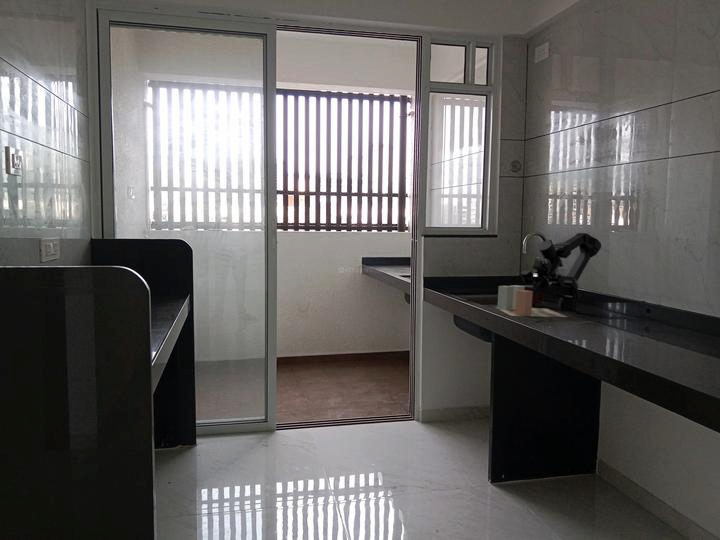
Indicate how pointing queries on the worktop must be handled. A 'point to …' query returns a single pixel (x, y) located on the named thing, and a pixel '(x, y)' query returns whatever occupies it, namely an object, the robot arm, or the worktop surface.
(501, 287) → the sage block
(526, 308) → the terracotta block
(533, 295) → the mug
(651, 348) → the worktop surface
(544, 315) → the maple board
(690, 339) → the worktop surface
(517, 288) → the cream block
